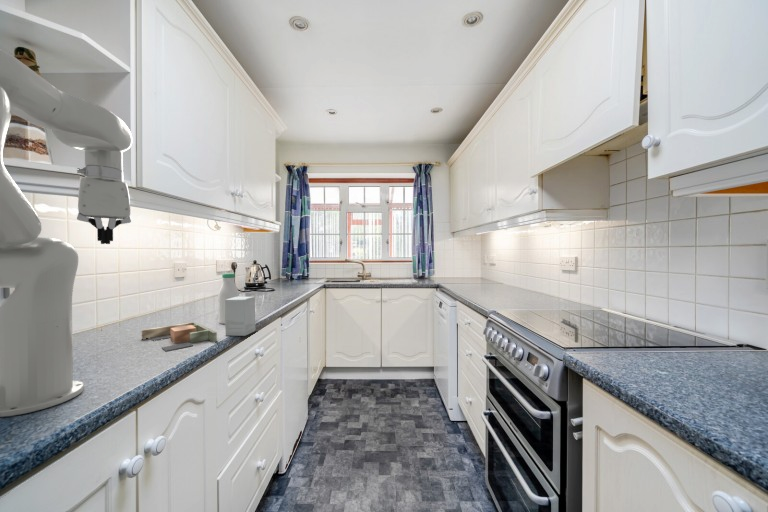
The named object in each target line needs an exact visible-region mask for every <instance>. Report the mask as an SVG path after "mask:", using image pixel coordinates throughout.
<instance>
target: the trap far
mask: <svg viewBox="0 0 768 512" xmlns="http://www.w3.org/2000/svg"><path fill="white" fill-rule="evenodd" d="M151 339H152V340H153V342H155V341H154V340H157V341H161V339H163V340H169V339H171V334H168V335H162V336H156V337H151ZM151 339H150V340H151ZM152 340H151V341H152Z"/></svg>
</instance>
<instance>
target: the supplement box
mask: <svg viewBox="0 0 768 512" xmlns="http://www.w3.org/2000/svg"><path fill="white" fill-rule="evenodd" d="M224 325H225V336H227V337H228V336H235V337H237V336H239V337H241V336H243V337H246V336H248V335H250V334H252V333H254V332H256V297H255V296H239V297H233V298H230V299H226V300H225V324H224Z"/></svg>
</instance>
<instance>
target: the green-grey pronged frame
mask: <svg viewBox="0 0 768 512" xmlns="http://www.w3.org/2000/svg"><path fill="white" fill-rule="evenodd" d="M187 325H192V326H194V327H195V328H196V332H193V333H190V341H189V343H191V344H192V343H197V342H203V341H210V342H212V343H216V342H217V341H218V337H217V336H218V335H217V333H218V332H217V331H215V330H213V329H211V328H209V327H208V326H207V327H206V326H204V325H203V324H200V323H198V322H191V321H190V322H187V323H177V324H173V325H167V326H166V325H165V326H159V327H151V328H147V329H146V328H145V329H141V340H142V339H143V340H147V339H146V338H149V339H150V338H151V337H156V336H162V335H168V334H171V330H170V328H174V327H181V326H187Z"/></svg>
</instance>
